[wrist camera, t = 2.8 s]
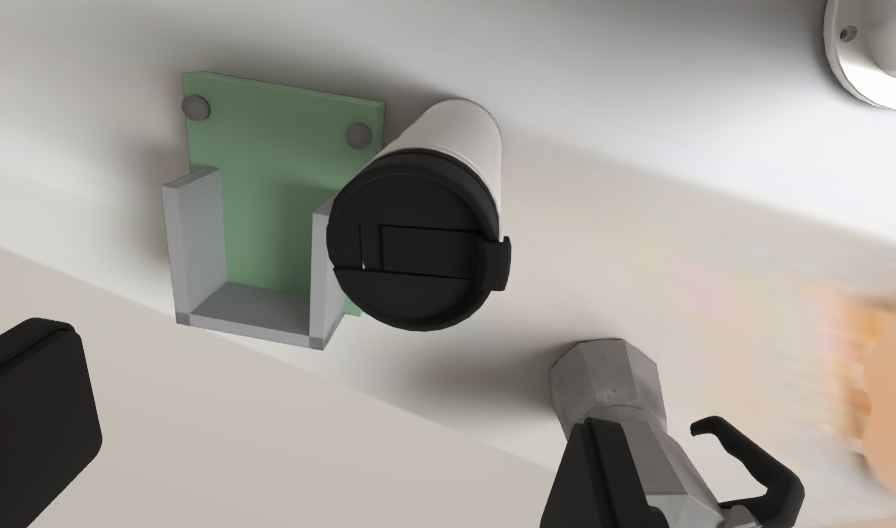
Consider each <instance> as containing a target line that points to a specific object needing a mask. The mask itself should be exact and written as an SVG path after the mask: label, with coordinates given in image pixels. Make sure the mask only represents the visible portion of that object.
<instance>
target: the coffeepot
mask: <svg viewBox="0 0 896 528" xmlns="http://www.w3.org/2000/svg"><path fill="white" fill-rule="evenodd" d="M550 381H551V394H552V404H553V406H554V409H555V411H556V414H557V416H558V419H559V421H560V424H561V426H562V429H563V432H564V434H565V437H566V439H567V442H568V440H569V437H570V434H571V431H572V428H573V426H574V424H575V423H580V424H583V423H584V421H585V419H586V418H587V417H593V418H599V419H604V420H610V421H615V422H619V423H620V424H621V425H622V427H623V430H624V433H625V436H626V439H627V442H628V445H629V448H630V451H631V454H632V457H633V460H634V463H635V466H636V469H637V472H638V475H639V478H640V481H641V484H642V487H643V490H644V493H645V496H646V499H647V502H648V505H650V506H655V507H658V508H659V509H660V510H661V511H662V512H663V513H664V515H665V517H666V519H667V522H668V524H669V527H670V528H791V527H793V526H794V524H795V522H796V519H797V516H798V513H799V511H800V508H801V505H802V502H803V500H804V497H805V492H804V487H803V484H802V483H801V481H800V479H799V478H798V476H797V475H795V474H794V473H793V472H792V471H791V470H790V469H788V468H787V467H786V466H784V465H783V464H781V463H780V462H779V461H777V460H776V459H775V458H773V457H772V456H771V455H769V454H768V453H767V452H766V451H764V450H763V449H762V448H760V447H759V446H758V445H757V444H755V443H754V442H753V441H751V440H750V439H749V438H748V437H746V436H745V435H743V434H742V433H741V432H740V431H739V430H737V429H736V428H735V427H734V426H732V425H731V424H730V423H728V422H727V421H726V420H724V419H723V418H722V417H719V416H710V417H707V418H704V419H701V420H699V421H696V422H694V423H692V424H691V426H690V430H691V434H692V436H696V435H700V434H706V433H711V434H714V435H716V436H717V438H718V439H719V441H720V442H721V444H722V446H723V447H724V449H725V450H726V451H727V452H728V453H729V454H731V455H732V456H734V457H736V458H737V459H739V460H740V461H741V462H742V463H743V464H744V466H745V467H746V468H747V470H748V471H749V472H750V474H751V475H752V476H753V477H754V478H755V479H756V480H757V481H758V482H760V483H761V484H762V485H764V486H765V487H767V488H768V490H767V492H766V494H765V495H763V496H760V497H755V498H747V499H739V500H733V501H727V502H722V503H718V501H717V500H716V498H715V497H714V495H713V494H712V492H711V491H710V489H709V488H708V486H707V485H706V483H705V482H704V480H703V479H702V477H701V476H700V474H699V473H698V471H697V470H696V468H695V467H694V465H693V464H692V462H691V461H690V459H689V458H688V457H687V455H686V454H685V452H684V451H683V449H682V448H681V446H680V445H679V443H677V442H676V441H675V440H674V439H673V438H671V437H670V436H669V435H667V418H666V413H665V407H664V402H663V397H662V392H661V386H660V381H659V376H658V371H657V365H656V363H655V362H653V361H652V360H651V359H649V358H648V357H647V356H646V355H645V354H643V353H642V352H641V351H640V350H639V349H637V348H636V347H634V346H632V345H630V344H629V343H628V342H626V341H625V340H611V339H600V340H593V341H588V342H585V343H578V344H577V345H575V346H574V347H573V348H571V349H570V350H569V351H567V352H566V353H565V354H564V355H563V356H562V357H561V358H560V359H559V360H558V361H557V363H556V364H555V365H554V366H553V367H552V368H551V369H550Z"/></svg>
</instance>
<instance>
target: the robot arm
mask: <svg viewBox="0 0 896 528" xmlns="http://www.w3.org/2000/svg"><path fill="white" fill-rule="evenodd" d="M841 31H842V32H843V33H842V36H841V37H840V33H841ZM823 36H824V43H825V51H826V56H827V58H828V61H829V64H830V66H831V69H832V71H833V73H834V74H835V76H836V77H837V79H838V80H839V81H840V83H841V84H842V86H843V87H844V88H845V89H847V90H848V91H849V92H850V93H852V94H853V95H854V96H855V97H856V98H858V99H860V100H862V101H864V102H867V103H869V104H871V105H873V106H877V107H881V108H886V109H890V110H896V0H828V2H827V6H826V10H825V17H824V31H823ZM101 445H102V434H101V429H100V424H99V420H98V415H97V411H96V406H95V401H94V396H93V392H92V387H91V382H90V378H89V373H88V369H87V364H86V359H85V354H84V350H83V345H82V341H81V337H80V335H78V334H77V333H76V332H75V330H74V327H72V326H71V325H70V324H68V323H65V322H59V321H54V320H49V319H42V318H30V319H28V320H25V321H23V322H22V323H20V324H18V325H17V326H15V327H13V328H11V329H10V330H8V331H6V332H5V333H3V334H1V335H0V528H27V527H28V526H29V525H30V524H31V523H32V522H33V521H34V520H35V518H37V517H38V515H40V513H41V512H42V511H43V510H44V509H45V508H46V507H47V506H48V505H49V504H50V503H51V502H52V501H53V500H54V499H55V498H56V497H57V496H58V495H59V494H60V493H61V492H62V491H63V490H64V489H65V488H66V487H67V486H68V485H69V484H70V483H71V481H73V480H74V479H75V478H76V476H77V475H78V474H79V473H80V472H81V471H82V470H83V469H84V468H85V467H86V466H87V465H88V464H89V463H90V462H91V461H92V460H93V459H94V458H95V456H96V455H97V454H98V452H99V450H100V448H101ZM540 528H670V527H669V524H668V522H667V519H666V517H665V515H664V513H663V512H662V511H661V510H660V509H659V508H658V507H655V506H650V505H648V502H647V499H646V496H645V493H644V490H643V487H642V484H641V481H640V478H639V475H638V472H637V469H636V466H635V463H634V460H633V457H632V454H631V451H630V448H629V445H628V442H627V439H626V436H625V433H624V430H623V427H622V425H621V424H620V423H619V422H615V421H610V420H604V419H599V418H593V417H587V418H586V419H585V421H584V423H583V424H580V423H575V424H574V426H573V428H572V431H571V434H570V437H569V440H568V443H567V445H566V448H565V451H564V454H563V457H562V460H561V463H560V466H559V469H558V472H557V474H556V477H555V481H554V483H553V486H552V489H551V492H550V495H549V498H548V501H547V504H546V506H545V509H544V512H543V515H542V518H541V522H540Z"/></svg>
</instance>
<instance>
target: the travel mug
mask: <svg viewBox="0 0 896 528" xmlns="http://www.w3.org/2000/svg"><path fill="white" fill-rule="evenodd" d="M501 166H502V141H501V134H500V130H499V128H498V125H497V123H496V121H495V120H494V118H493V117H492V115H491V114H490V113H489V112H488V111H487V110H486V109H485V108H484V107H482V106H480V105H479V104H477V103H475V102H472V101H469V100H466V99H459V98H457V99H448V100H444V101H441V102H439V103H437V104H435V105H433V106H432V107H430V108H429V109H428V110H427V111H426V112H424V113H423V114H422V115H421V116H420V117H419V118H418V119H417V120H415V121H414V122H413V123H412V124H411V125H410V126H409V127H408V128H407V129H405V130H404V131H403V132H402V133H401V134H400V135H399V136H398V137H396V138H395V139H394V140H393V141H392V142H391V143H390V144H389V145H387V146H386V147H385V148H384V149H383V150H382V151H381V152H380V153H378V154H377V155H376V156H375V157H374V158H373V159H372V160H371V161H370V162H368V163H367V164H366V165H365V166H364V167H363V168H362V169H361V170H360V171H359V173H358V174H357V175H356V176H355V177H354V178H353V179H352V180H351V181H350V182H349V183H348V184H346V185H345V186H344V187H343V188H342V190H341V191H340V192H339V194H338V195H337V196H336V197H335V199H334V201H333V205H332V208H331V212H330V216H329V219H328V221H329V222H328V224H327V226H326V245H327V250H328V256H329V259H330V261H331V262H332V264H333V265H334V268H333V272H334V274H335V276H336V278H337V281H338V283H339V285H340V287H341V290H342V291H343V292H344V293H345V294H346V295H347V297H348V298H349V299H350V300H351V301H352V302H353V303H354V304H355V305H356V306H358V307H359V308H360V309H361V310H362V311H363V312H365V313H366V314H368V315H370V316H371V317H373V318H375V319H376V320H378V321H380V322H382V323H385V324H387V325H390V326H392V327H395V328H400V329H404V330H408V331H423V332H426V331H434V330H441V329H444V328H448V327H451V326H454V325H456V324H458V323H460V322H462V321H463V320H465V319H467V318H469V317H470V316H471V315H472V314H473V313H475V312H476V311H477V310H478V309H479V308H480V307H481V306H482V304H483V303H484V302H485V300H486V299H487V298H488V296H489V294H490V292H491V291H503V290H505V287H506V284H507V281H508V277H509V271H510V263H511V242H510V239H509V237H508V236H504V240H503V242H499V239H500V233H501Z"/></svg>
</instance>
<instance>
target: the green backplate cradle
mask: <svg viewBox="0 0 896 528" xmlns="http://www.w3.org/2000/svg"><path fill="white" fill-rule="evenodd" d="M182 83H183V94H184V100H183V102H182V110H183V112H184V114H185V117H186V129H187V140H188V152H189V164H190V174H188V175H186V176H184V177H181V178H179V179H177V180H174V181H172V182H169V183H167V184H165V185H162V186H161V191H162V200H163V209H164V217H165V226H166V235H167V243H168V252H169V261H170V270H171V278H172V287H173V296H174V304H175V313H176V322H177V323H178V324H183V325H188V326H194V327H199V328H204V329H209V330H215V331H220V332H225V333H231V334H236V335H241V336H247V337H252V338H257V339H263V340H268V341H273V342H279V343H284V344H289V345H295V346H300V347H305V348H311V349H316V350H321V351H323V350H324V348H325V347H326V345H327V343H328V342H329V340H330V338H331V336H332V335H333V333H334V331H335V330H336V328H337V326H338V324H339V323H340V321H341V319H342V318H343V316H344V314H348V315H353V316H359V317H360V316H361V314H362V312H363V311H362V310H361V309H360V308H359V307H358V306H356V305H355V304H354V303H353V302H352V301H351V300H350V299H349V298H348V297H347V295H346V294H345V293H344V292H343V291H342V290H341V287H340V285H339V283H338V281H337V278H336V276H335V274H334V272H333V268H334V265H333V264H332V262H331V261H330V259H329V256H328V250H327V245H326V226H327V224H328V222H329V221H328V219H329V216H330V212H331V208H332V205H333V201H334V199H335V197H336V196H337V195H338V194H339V192H340V191H341V190H342V188H343V187H344V186H345V185H346V184H348V183H349V182H350V181H351V180H352V179H353V178H354V177H355V176H356V175H357V174H358V173H359V171H360V170H361V169H362V168H363V167H364V166H365V165H366V164H367V163H368V162H370V161H371V160H372V159H373V158H374V157H375V156H376V155H377V154H378V153H380V152H381V150H382V139H383V128H384V116H385V105H386V102H380V101H374V100H368V99H363V98H357V97H351V96H345V95H339V94H333V93H327V92H321V91H316V90H310V89H304V88H298V87H292V86H286V85H280V84H275V83H269V82H263V81H257V80H251V79H245V78H239V77H233V76H228V75H222V74H216V73H210V72H204V71H202V72H192V73H182Z"/></svg>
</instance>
